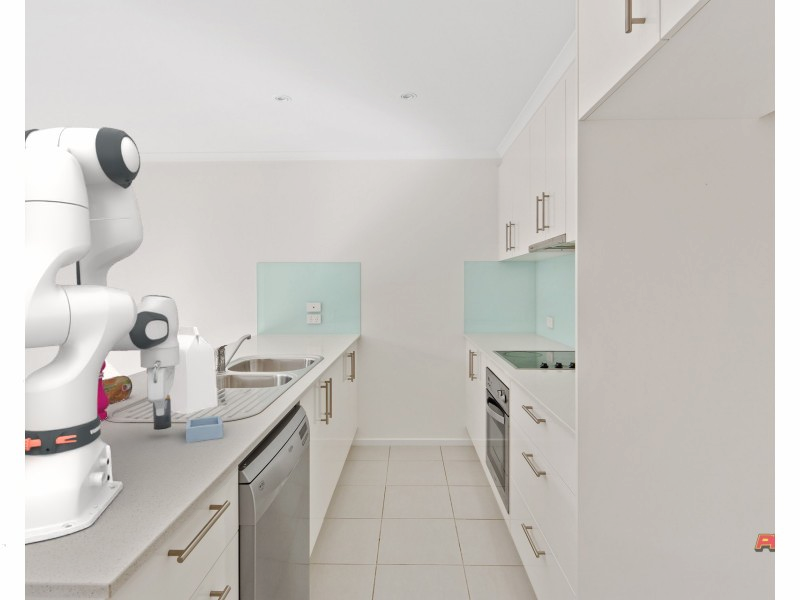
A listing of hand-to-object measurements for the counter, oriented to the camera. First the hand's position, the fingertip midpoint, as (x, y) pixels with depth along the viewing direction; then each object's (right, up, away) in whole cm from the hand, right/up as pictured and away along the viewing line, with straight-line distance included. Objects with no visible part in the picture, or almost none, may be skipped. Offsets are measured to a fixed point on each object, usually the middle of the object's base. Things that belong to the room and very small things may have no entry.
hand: (161, 412), depth 114 cm
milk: (-6, -6, +28) cm, 29 cm away
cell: (0, -4, 0) cm, 4 cm away
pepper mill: (-28, -6, +15) cm, 32 cm away
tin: (-35, -6, +34) cm, 49 cm away
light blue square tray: (+10, -6, +1) cm, 12 cm away
